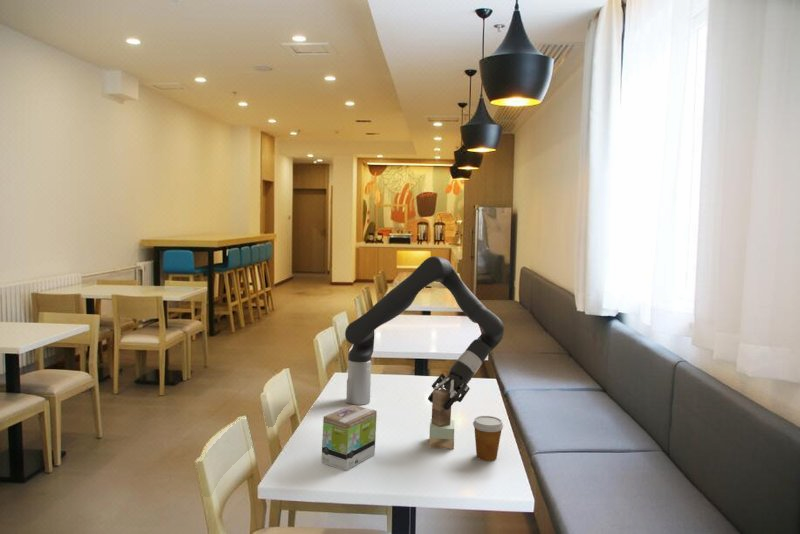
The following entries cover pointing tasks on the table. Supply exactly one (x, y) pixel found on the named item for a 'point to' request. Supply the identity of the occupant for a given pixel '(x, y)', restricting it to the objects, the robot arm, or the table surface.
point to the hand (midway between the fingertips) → (437, 404)
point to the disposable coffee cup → (487, 436)
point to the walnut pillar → (440, 408)
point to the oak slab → (441, 443)
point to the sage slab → (442, 431)
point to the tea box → (348, 436)
